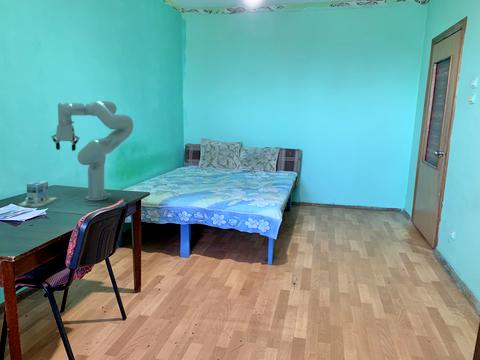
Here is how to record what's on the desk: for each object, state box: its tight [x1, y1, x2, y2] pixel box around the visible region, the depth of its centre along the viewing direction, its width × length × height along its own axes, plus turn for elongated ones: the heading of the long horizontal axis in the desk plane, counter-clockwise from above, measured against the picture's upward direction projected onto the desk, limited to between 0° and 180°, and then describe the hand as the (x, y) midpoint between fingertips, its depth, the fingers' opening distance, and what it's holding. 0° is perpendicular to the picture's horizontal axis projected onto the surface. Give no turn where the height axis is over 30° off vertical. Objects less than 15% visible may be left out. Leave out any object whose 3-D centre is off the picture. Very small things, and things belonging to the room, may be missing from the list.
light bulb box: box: [26, 180, 50, 203], centre depth 213 cm, size 11×7×11 cm, turn 175°
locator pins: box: [25, 197, 38, 205], centre depth 213 cm, size 6×16×4 cm, turn 0°
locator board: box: [17, 197, 59, 208], centre depth 214 cm, size 14×18×1 cm
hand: (65, 150), depth 233 cm, fingers open, 9 cm apart
